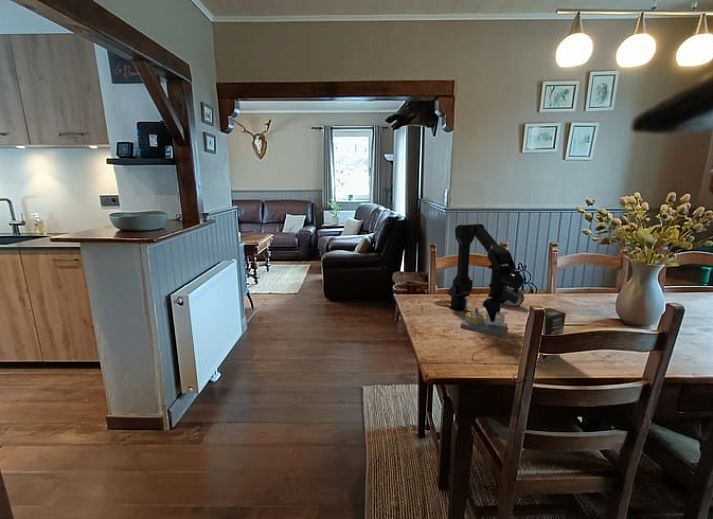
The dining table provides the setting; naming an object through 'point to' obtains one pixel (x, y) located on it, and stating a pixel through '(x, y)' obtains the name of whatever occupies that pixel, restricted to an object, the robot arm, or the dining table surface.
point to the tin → (517, 301)
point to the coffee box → (552, 328)
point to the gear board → (482, 324)
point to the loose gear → (496, 319)
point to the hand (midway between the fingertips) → (494, 318)
